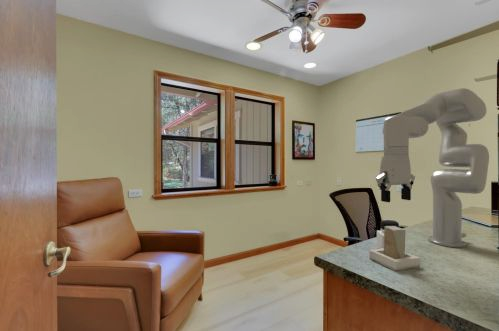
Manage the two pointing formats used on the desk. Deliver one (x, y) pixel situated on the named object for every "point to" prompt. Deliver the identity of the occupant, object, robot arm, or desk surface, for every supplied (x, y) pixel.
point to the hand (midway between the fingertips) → (396, 200)
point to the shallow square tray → (394, 260)
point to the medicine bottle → (381, 233)
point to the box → (394, 242)
